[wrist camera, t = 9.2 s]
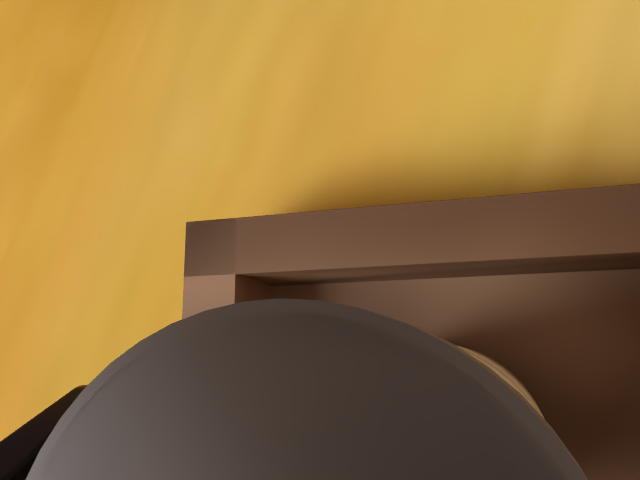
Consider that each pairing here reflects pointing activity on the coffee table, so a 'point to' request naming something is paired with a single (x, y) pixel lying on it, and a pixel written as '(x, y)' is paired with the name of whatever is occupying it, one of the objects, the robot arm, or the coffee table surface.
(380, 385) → the lidded tumbler
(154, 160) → the coffee table surface
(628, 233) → the cradle
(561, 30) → the coffee table surface
